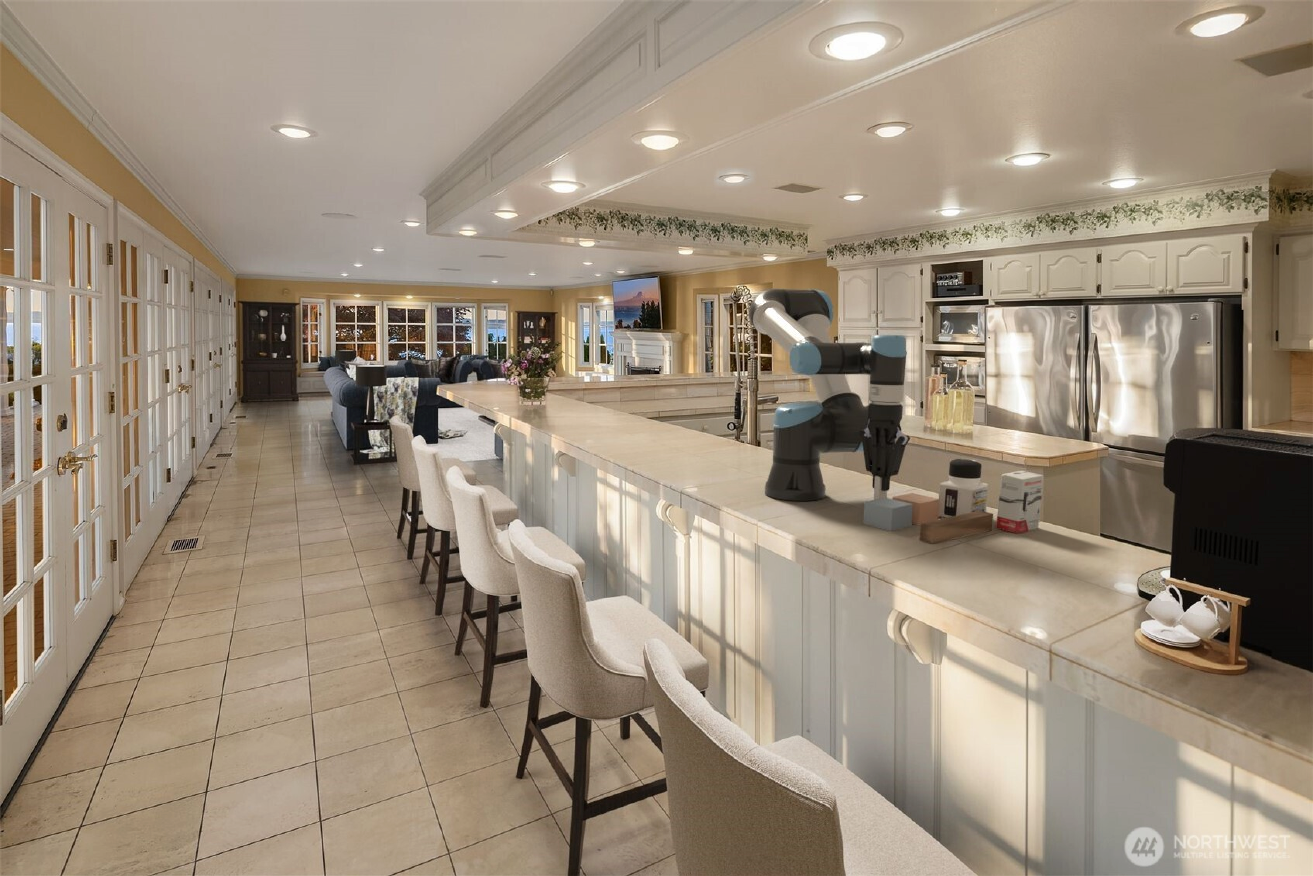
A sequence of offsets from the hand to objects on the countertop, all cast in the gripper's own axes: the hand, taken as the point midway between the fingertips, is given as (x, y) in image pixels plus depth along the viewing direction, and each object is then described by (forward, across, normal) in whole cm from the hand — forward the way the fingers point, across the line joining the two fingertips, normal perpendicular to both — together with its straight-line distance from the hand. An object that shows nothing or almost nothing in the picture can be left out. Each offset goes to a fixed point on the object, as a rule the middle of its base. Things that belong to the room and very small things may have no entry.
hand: (879, 503), depth 165 cm
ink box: (+2, +26, +13) cm, 29 cm away
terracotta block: (+2, +10, 0) cm, 10 cm away
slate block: (+2, +10, -9) cm, 13 cm away
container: (+2, +14, +11) cm, 18 cm away
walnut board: (+2, +22, -3) cm, 23 cm away
